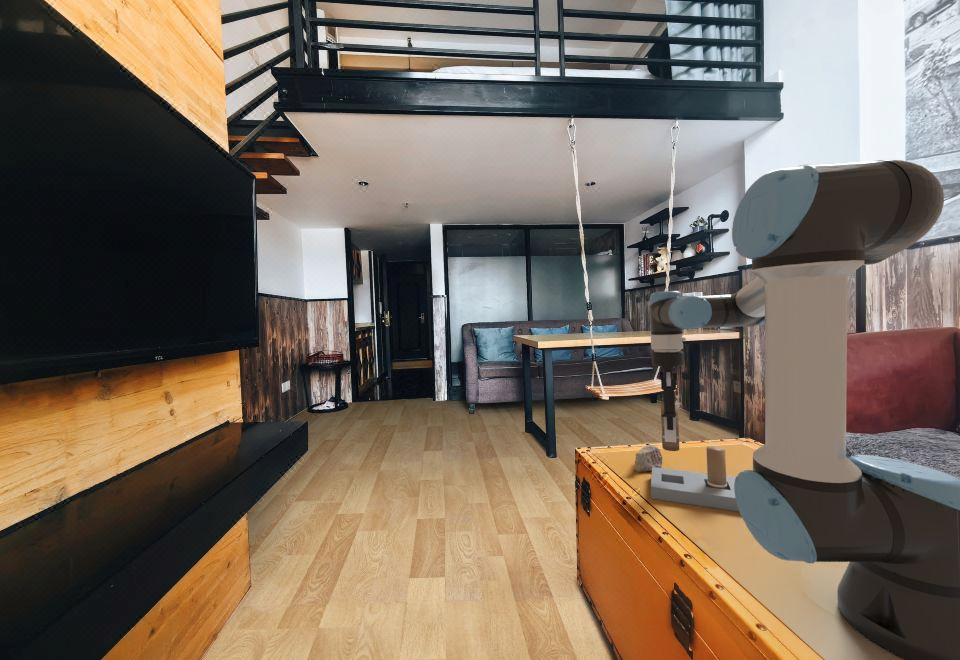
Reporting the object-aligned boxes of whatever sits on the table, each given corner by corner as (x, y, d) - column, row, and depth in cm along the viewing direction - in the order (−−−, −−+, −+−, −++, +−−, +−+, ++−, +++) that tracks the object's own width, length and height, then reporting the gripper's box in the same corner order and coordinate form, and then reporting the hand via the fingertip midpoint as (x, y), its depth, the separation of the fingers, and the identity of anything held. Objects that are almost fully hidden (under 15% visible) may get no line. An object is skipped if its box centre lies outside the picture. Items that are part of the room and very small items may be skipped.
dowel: (680, 452, 96) (678, 405, 95) (662, 450, 98) (660, 404, 97) (679, 446, 99) (677, 402, 99) (662, 445, 101) (660, 401, 101)
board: (747, 512, 85) (745, 460, 85) (651, 498, 94) (649, 451, 94) (736, 487, 98) (734, 442, 98) (652, 477, 107) (650, 435, 107)
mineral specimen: (658, 477, 107) (657, 456, 107) (632, 473, 111) (631, 452, 111) (665, 463, 117) (665, 443, 117) (641, 459, 121) (641, 440, 121)
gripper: (685, 353, 89) (688, 451, 89) (681, 347, 104) (684, 431, 104) (650, 353, 92) (654, 447, 92) (652, 348, 107) (655, 428, 108)
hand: (670, 438), depth 98 cm, fingers closed on dowel, 4 cm apart
